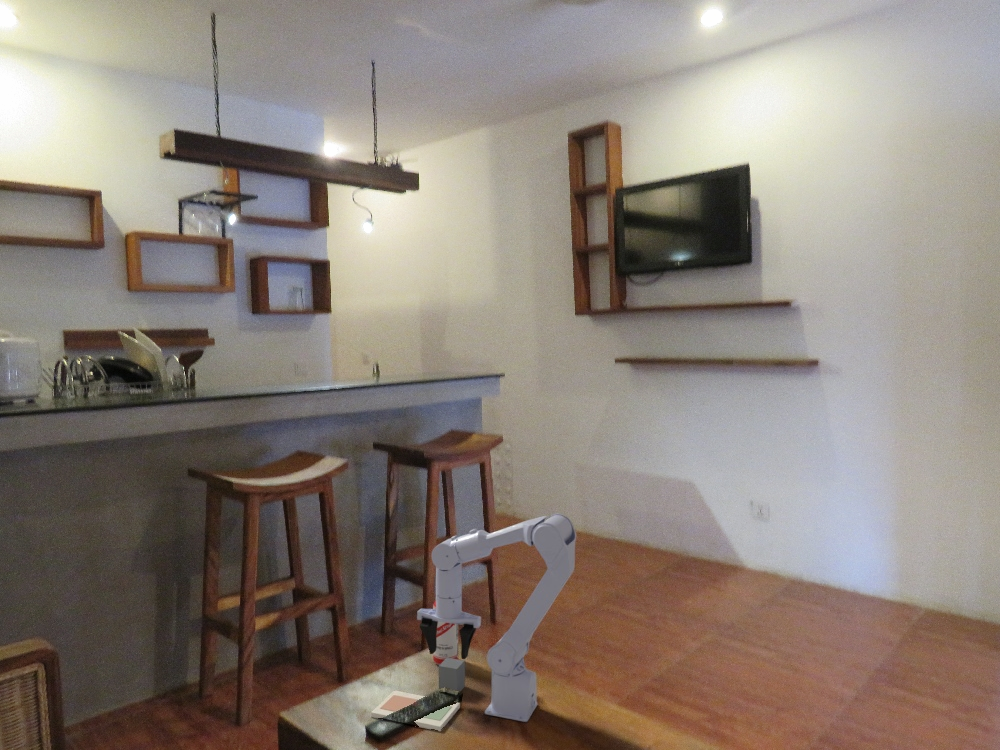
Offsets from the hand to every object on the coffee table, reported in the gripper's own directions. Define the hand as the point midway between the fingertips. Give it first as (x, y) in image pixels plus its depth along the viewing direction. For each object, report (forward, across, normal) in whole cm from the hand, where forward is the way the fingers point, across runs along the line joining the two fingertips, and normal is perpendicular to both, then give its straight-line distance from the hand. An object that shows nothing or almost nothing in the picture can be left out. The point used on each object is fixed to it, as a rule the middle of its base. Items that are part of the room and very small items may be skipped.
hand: (448, 654), depth 154 cm
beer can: (+10, +7, -16) cm, 20 cm away
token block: (+10, +1, -4) cm, 10 cm away
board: (+9, +4, +8) cm, 13 cm away
